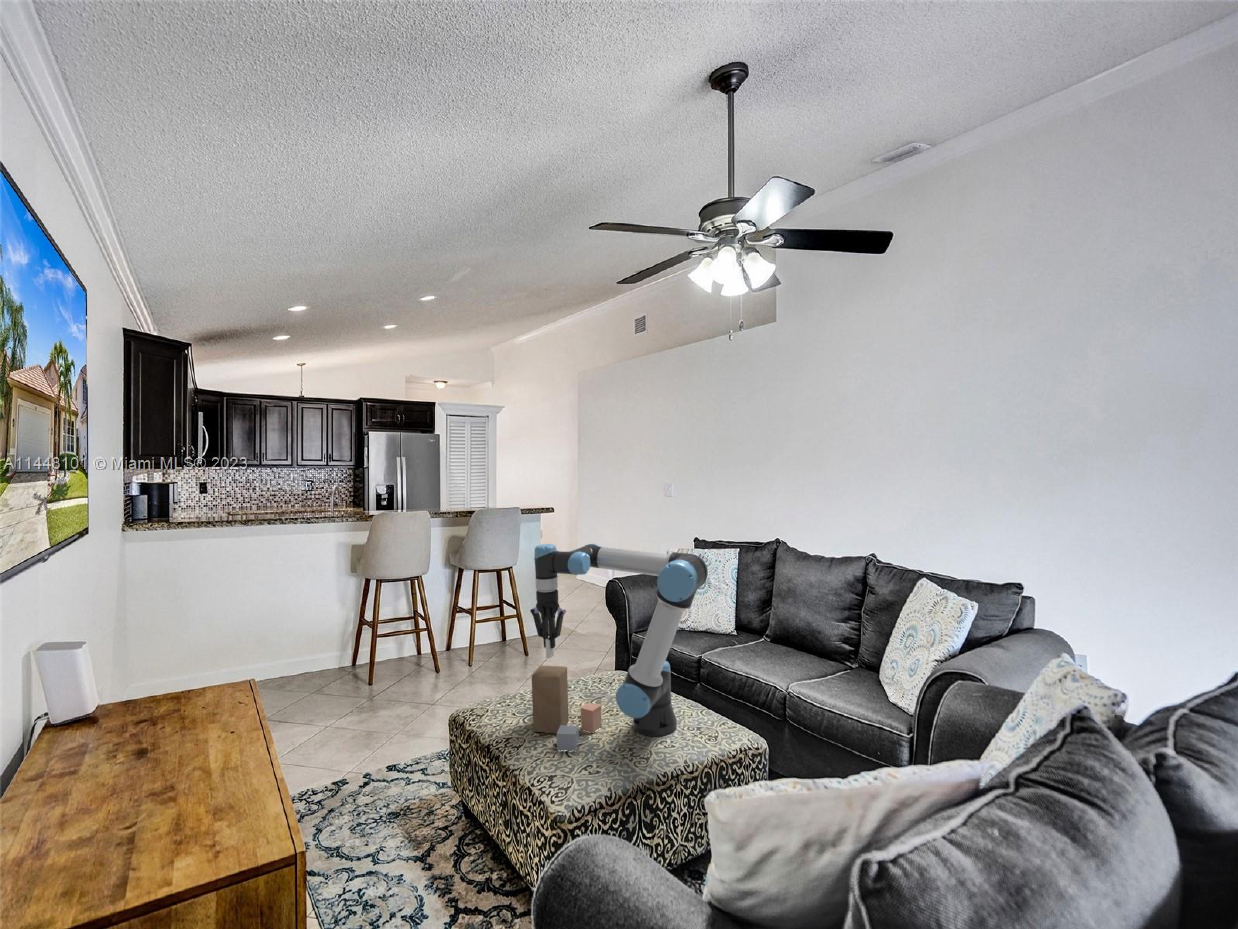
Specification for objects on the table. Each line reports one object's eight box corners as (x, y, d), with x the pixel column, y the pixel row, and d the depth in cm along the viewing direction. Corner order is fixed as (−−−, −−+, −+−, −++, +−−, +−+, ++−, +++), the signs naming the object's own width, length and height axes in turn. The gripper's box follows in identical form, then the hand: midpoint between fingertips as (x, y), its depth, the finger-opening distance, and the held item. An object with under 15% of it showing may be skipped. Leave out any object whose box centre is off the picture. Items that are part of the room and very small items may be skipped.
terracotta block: (601, 728, 219) (600, 705, 219) (593, 734, 215) (592, 711, 215) (589, 725, 222) (589, 702, 221) (581, 730, 218) (580, 708, 217)
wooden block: (561, 735, 215) (559, 677, 214) (533, 733, 217) (530, 675, 216) (569, 721, 225) (567, 666, 224) (542, 720, 227) (540, 665, 226)
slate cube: (578, 743, 209) (578, 725, 208) (575, 752, 203) (574, 734, 203) (561, 743, 209) (560, 725, 209) (557, 752, 204) (556, 733, 203)
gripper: (568, 588, 220) (571, 655, 221) (535, 586, 224) (538, 651, 225) (558, 593, 213) (561, 662, 214) (525, 591, 217) (528, 658, 218)
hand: (550, 656), depth 219 cm, fingers closed
